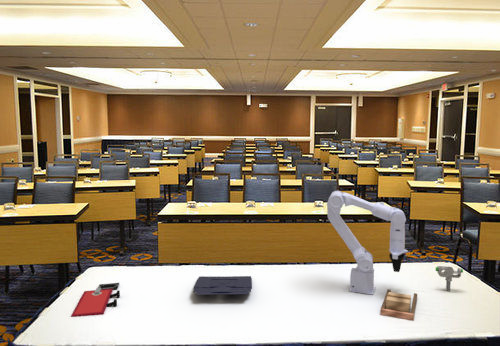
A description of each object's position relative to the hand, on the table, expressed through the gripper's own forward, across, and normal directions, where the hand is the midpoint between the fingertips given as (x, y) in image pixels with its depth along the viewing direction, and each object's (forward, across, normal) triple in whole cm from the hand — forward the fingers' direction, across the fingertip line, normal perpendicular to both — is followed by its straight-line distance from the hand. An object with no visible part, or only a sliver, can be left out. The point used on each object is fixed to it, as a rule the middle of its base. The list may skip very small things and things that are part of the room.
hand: (396, 271), depth 173 cm
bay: (+9, -12, -2) cm, 15 cm away
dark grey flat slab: (+9, -26, +67) cm, 73 cm away
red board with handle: (+8, -56, +108) cm, 121 cm away
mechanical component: (+10, +12, -19) cm, 25 cm away
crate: (+9, -17, -2) cm, 20 cm away
